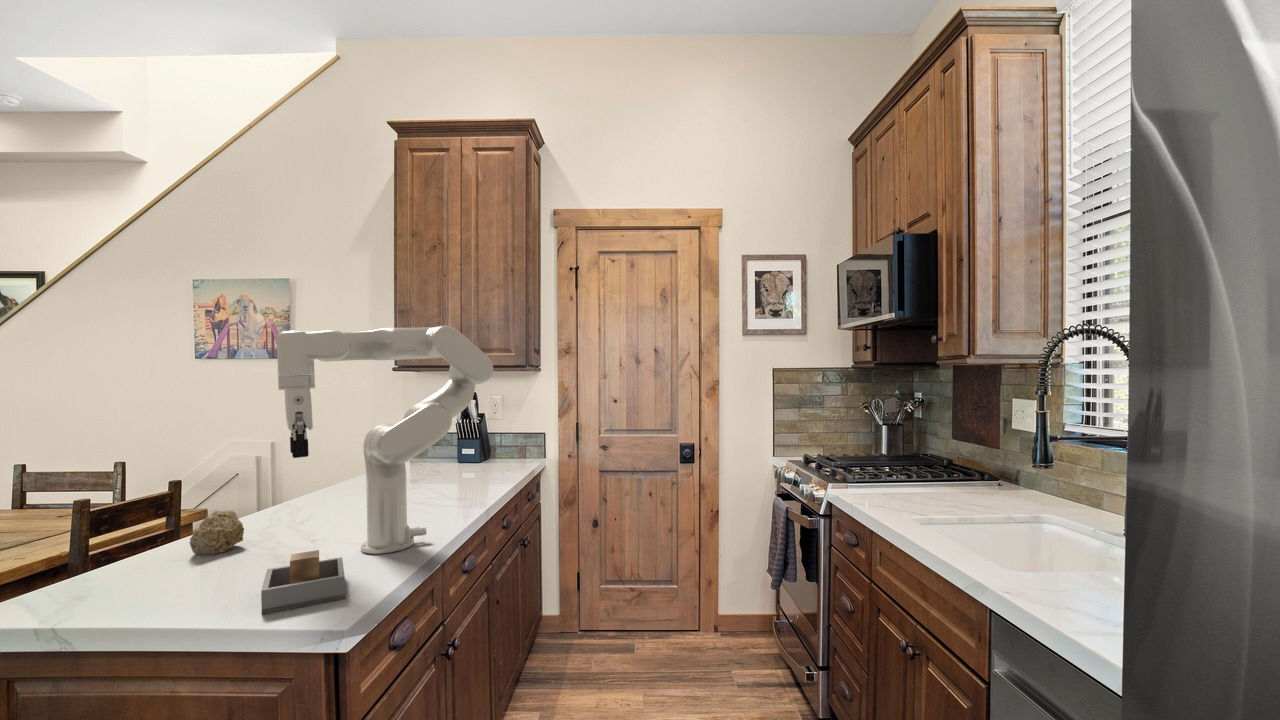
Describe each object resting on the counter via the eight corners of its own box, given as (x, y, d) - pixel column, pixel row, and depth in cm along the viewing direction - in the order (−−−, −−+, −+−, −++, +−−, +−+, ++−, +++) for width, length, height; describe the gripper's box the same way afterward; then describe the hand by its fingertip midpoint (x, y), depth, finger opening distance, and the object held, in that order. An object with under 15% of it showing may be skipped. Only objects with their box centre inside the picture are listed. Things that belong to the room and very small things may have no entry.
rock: (256, 523, 154) (228, 502, 156) (211, 540, 142) (182, 518, 144) (241, 555, 156) (214, 535, 158) (196, 576, 144) (167, 553, 146)
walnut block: (319, 583, 122) (318, 550, 122) (319, 591, 118) (318, 556, 118) (291, 588, 120) (291, 554, 120) (290, 596, 115) (289, 560, 115)
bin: (342, 577, 128) (342, 557, 128) (345, 598, 116) (344, 576, 116) (267, 590, 121) (267, 569, 121) (261, 614, 109) (261, 590, 109)
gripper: (317, 382, 133) (320, 457, 133) (312, 382, 148) (314, 449, 147) (279, 384, 129) (282, 461, 129) (277, 383, 143) (279, 452, 143)
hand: (299, 454), depth 138 cm, fingers open, 9 cm apart
